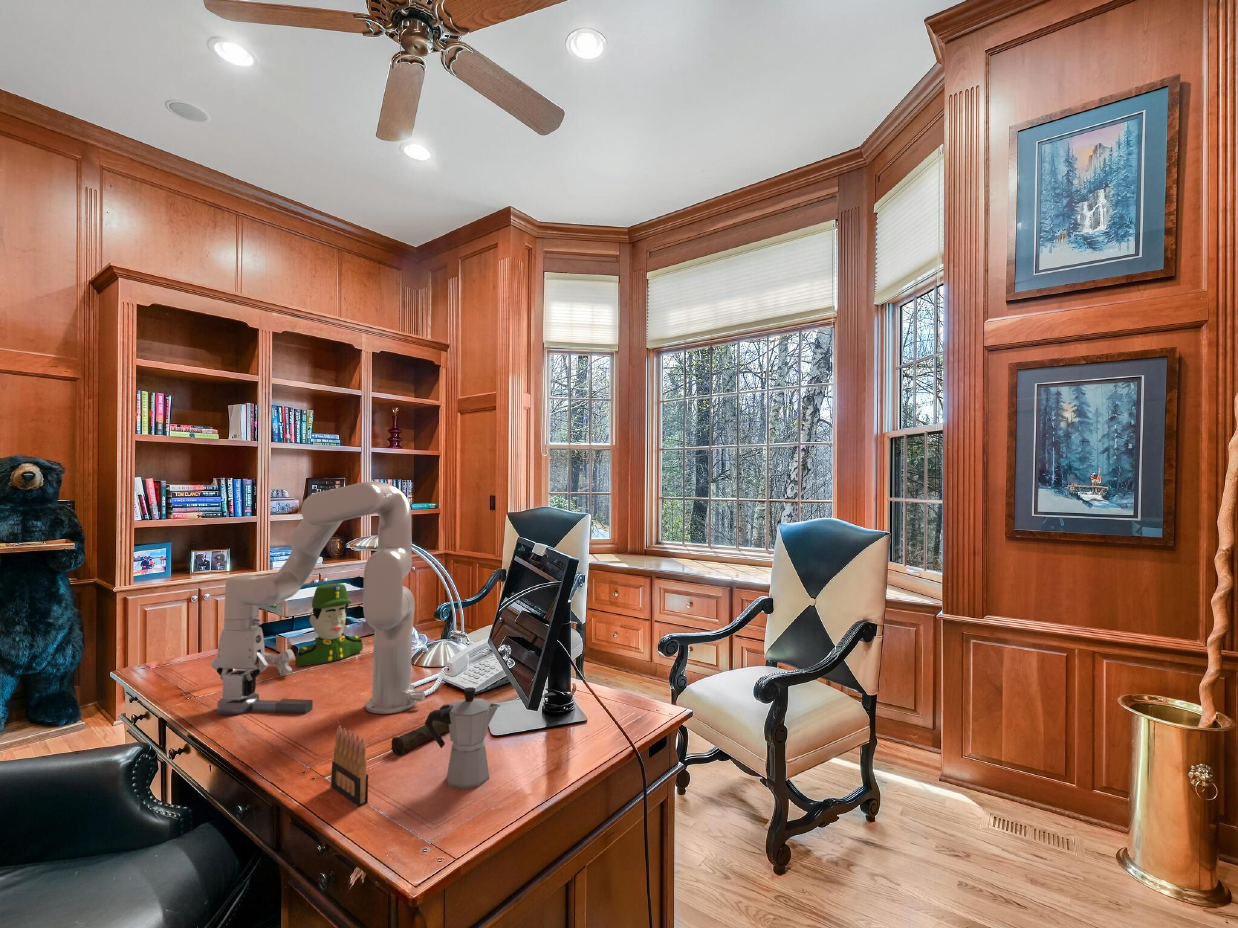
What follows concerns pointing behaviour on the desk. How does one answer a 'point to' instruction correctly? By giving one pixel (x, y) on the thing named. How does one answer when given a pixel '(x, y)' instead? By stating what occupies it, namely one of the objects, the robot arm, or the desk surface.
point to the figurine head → (329, 628)
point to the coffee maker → (465, 738)
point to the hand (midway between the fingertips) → (239, 693)
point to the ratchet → (262, 705)
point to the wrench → (281, 661)
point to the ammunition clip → (350, 767)
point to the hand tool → (416, 737)
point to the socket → (234, 684)
